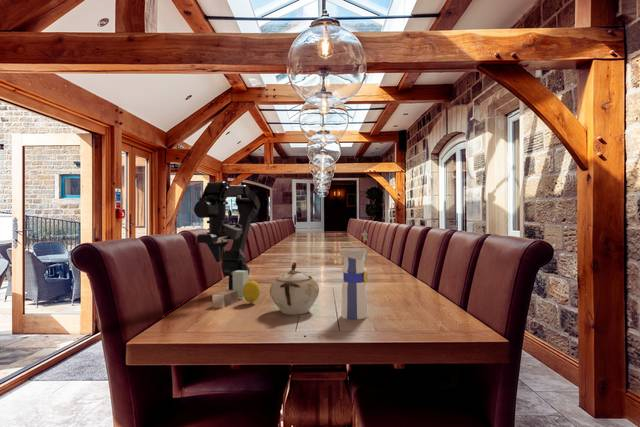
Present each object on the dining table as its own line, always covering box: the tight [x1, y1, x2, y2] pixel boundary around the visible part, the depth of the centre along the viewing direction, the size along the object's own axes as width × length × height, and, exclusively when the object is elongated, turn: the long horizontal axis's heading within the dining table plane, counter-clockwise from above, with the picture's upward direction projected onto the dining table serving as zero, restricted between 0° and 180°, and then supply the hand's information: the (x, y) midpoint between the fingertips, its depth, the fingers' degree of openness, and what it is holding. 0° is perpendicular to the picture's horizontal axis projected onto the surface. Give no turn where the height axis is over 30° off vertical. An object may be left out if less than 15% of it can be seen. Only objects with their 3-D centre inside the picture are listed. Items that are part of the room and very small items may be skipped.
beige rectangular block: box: [212, 289, 239, 309], centre depth 145 cm, size 4×4×10 cm
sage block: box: [233, 270, 249, 300], centre depth 155 cm, size 4×4×10 cm
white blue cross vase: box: [339, 229, 369, 320], centre depth 127 cm, size 8×9×25 cm
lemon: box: [243, 279, 261, 304], centre depth 145 cm, size 6×6×8 cm
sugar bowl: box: [269, 262, 320, 316], centre depth 133 cm, size 20×15×15 cm
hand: (218, 261), depth 154 cm, fingers closed
